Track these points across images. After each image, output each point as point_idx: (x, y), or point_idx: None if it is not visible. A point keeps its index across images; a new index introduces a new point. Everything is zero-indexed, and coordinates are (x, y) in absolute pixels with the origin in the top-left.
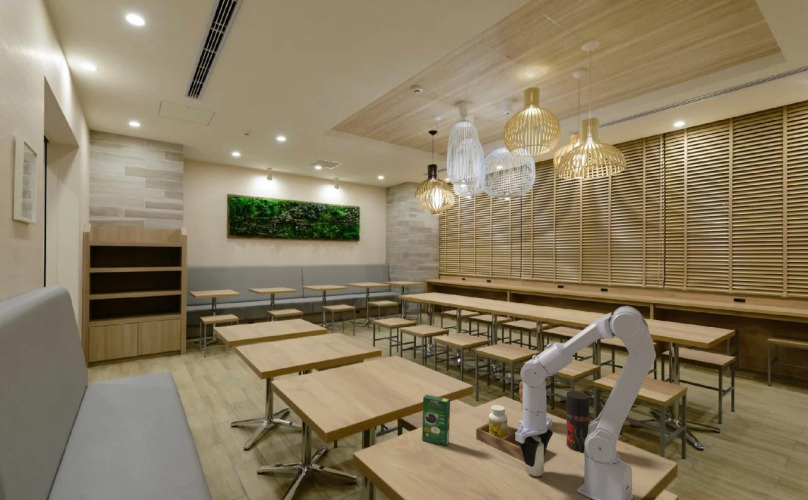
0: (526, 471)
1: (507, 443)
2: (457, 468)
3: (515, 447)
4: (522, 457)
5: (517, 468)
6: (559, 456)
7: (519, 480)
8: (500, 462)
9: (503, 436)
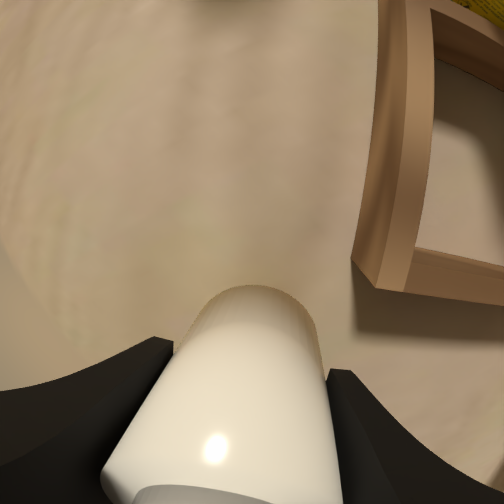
0: (206, 304)
1: (405, 49)
2: (45, 8)
3: (400, 136)
4: (368, 212)
5: (232, 220)
6: (499, 361)
7: (120, 284)
8: (223, 87)
9: (486, 14)
